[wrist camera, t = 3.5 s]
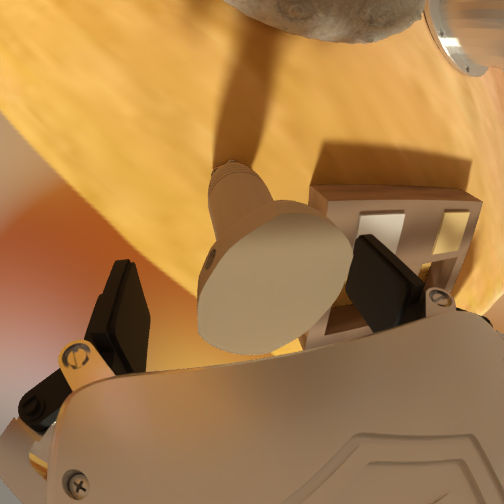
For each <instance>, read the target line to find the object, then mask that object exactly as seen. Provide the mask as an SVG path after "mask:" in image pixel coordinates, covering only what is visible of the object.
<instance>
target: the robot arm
mask: <svg viewBox="0 0 504 504" xmlns="http://www.w3.org/2000/svg"><path fill="white" fill-rule="evenodd" d="M424 12H425V16H426V20H427V23H428V26H429V29H430V32H431V34H432V36H433V38H434V40H435V42H436V44H437V46H438V47H439V49H440V51H441V52H442V54H443V55H444V57H445V58H446V59H447V61H448V62H449V63H450V64H451V65H452V66H453V67H454V68H455V69H456V70H457V71H459V72H460V73H462V74H464V75H467V76H471V77H480V76H482V75H484V74H485V73H486V71H487V70H488V68H489V67H493V68H499V69H504V0H426V3H425V7H424ZM424 287H425V283H424V282H423V281H422V280H421V279H420V278H419V277H418V276H417V275H416V274H415V273H414V272H413V271H412V270H411V269H410V268H409V267H408V266H407V265H406V264H405V263H403V262H402V261H401V260H400V259H399V258H398V257H397V256H396V255H395V254H394V253H393V252H392V251H391V250H389V249H388V248H387V247H386V246H385V245H384V244H383V243H382V242H380V241H379V240H378V239H377V238H376V237H375V236H374V235H372V234H364V235H359V236H358V238H357V239H356V240H355V243H354V248H353V259H352V262H351V265H350V268H349V273H348V278H347V282H346V287H345V290H346V294H347V296H348V297H349V298H350V300H351V301H352V303H353V304H354V306H355V307H356V308H357V310H358V311H359V313H360V314H361V316H362V317H363V318H364V320H365V321H366V323H367V324H368V326H369V327H370V329H371V330H372V332H373V334H369V335H366V336H362V337H358V338H354V339H351V340H347V341H343V342H339V343H335V344H330V345H326V346H322V347H318V348H313V349H308V350H304V351H299V352H294V353H289V354H284V355H279V356H273V357H267V358H262V359H256V360H249V361H243V362H236V363H230V364H222V365H214V366H206V367H196V368H187V369H176V370H165V371H153V372H146V360H147V348H148V338H149V329H150V313H149V310H148V307H147V303H146V300H145V297H144V293H143V290H142V287H141V283H140V280H139V276H138V273H137V269H136V265H135V263H134V262H130V260H129V259H126V260H117V261H115V263H114V265H113V268H112V270H111V273H110V275H109V278H108V280H107V283H106V286H105V288H104V291H103V294H100V295H99V297H98V299H97V302H96V304H95V307H94V310H93V313H92V316H91V319H90V322H89V325H88V328H87V331H86V334H85V337H84V340H76V341H73V342H70V343H69V344H67V345H66V346H65V347H64V348H63V349H62V350H61V352H60V354H59V357H58V363H59V367H60V368H59V369H58V370H57V371H55V372H54V373H52V374H51V375H50V376H49V377H47V378H46V379H44V380H43V381H42V382H40V383H39V384H38V385H36V386H35V387H34V388H33V389H31V390H30V391H28V392H27V393H26V394H25V395H24V396H23V397H22V399H21V400H20V402H19V406H18V413H19V417H18V419H15V418H13V419H12V421H11V422H10V423H9V425H8V426H7V428H6V429H5V430H4V432H3V433H2V435H1V436H0V478H1V479H2V480H3V482H4V483H5V484H6V485H7V487H8V488H9V489H10V490H11V491H12V492H13V494H14V495H15V496H16V497H17V498H18V499H19V500H20V501H21V502H22V503H23V504H504V335H503V334H502V333H500V332H498V331H496V330H495V329H494V328H493V326H492V324H491V323H490V321H489V320H488V319H487V318H486V317H484V316H480V315H478V314H475V313H472V312H468V311H465V310H462V309H459V308H456V305H455V300H454V298H453V297H452V295H451V294H450V293H448V292H447V291H445V290H443V289H441V288H436V287H433V288H429V289H428V290H427V291H426V293H425V292H424V291H423V289H424Z"/></svg>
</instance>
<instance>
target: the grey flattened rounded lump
mask: <svg viewBox="0 0 504 504" xmlns="http://www.w3.org/2000/svg"><path fill="white" fill-rule="evenodd" d="M223 1H224V2H226V3H227V4H229V5H231V6H232V7H234V8H236V9H237V10H239V11H240V12H242V13H243V14H245V15H247V16H248V17H251V18H253V19H255V20H258V21H260V22H262V23H265V24H267V25H269V26H272V27H275V28H278V29H280V30H282V31H285V32H287V33H290V34H294V35H300V36H303V37H306V38H309V39H318V40H321V41H328V42H335V43H338V42H342V43H348V44H356V43H363V44H366V43H372V42H377V41H379V40H382V39H385V38H387V37H389V36H391V35H395V34H398V33H401V32H402V31H404V30H406V29H407V28H409V27H410V26H411V25H412V24H413V23H414V22H415V21H417V20H421V18H422V17H421V13H422V12H423V11H424V7H425V3H426V0H223Z"/></svg>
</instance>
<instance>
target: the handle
mask: <svg viewBox="0 0 504 504" xmlns="http://www.w3.org/2000/svg"><path fill="white" fill-rule="evenodd" d="M208 208H209V212H210V216H211V220H212V224H213V228H214V232H215V236H216V242H215V243H214V245H213V246H212V247H211V249H210V251H209V253H208V255H207V258H206V260H205V262H204V265H203V267H202V270H201V272H200V275H199V280H198V290H197V310H198V311H197V314H198V334H199V335H200V336H201V337H202V338H203V339H204V340H205V341H206V342H208V343H209V344H210V345H212V346H214V347H216V348H218V349H221V350H224V351H227V352H230V353H235V354H241V355H259V354H266V353H271V352H272V351H274V350H276V349H278V348H280V347H282V346H284V345H286V344H288V343H289V342H291V341H293V340H295V339H296V338H298V337H300V336H301V335H302V334H304V333H305V332H307V331H308V330H309V329H310V328H311V327H312V326H313V325H314V324H315V323H316V322H317V321H318V320H319V319H320V318H321V317H322V316H323V315H324V313H325V312H326V311H327V310H328V309H329V308H330V307H331V305H332V304H333V303H334V301H335V300H336V299H337V297H338V296H339V294H340V292H341V290H342V288H343V285H344V283H345V280H346V277H347V274H348V271H349V268H350V265H351V262H352V259H353V252H352V248H351V245H350V243H349V241H348V239H347V238H346V236H345V235H344V234H343V233H342V232H341V230H340V229H339V228H338V227H337V226H336V225H335V224H334V223H333V222H332V221H331V220H330V219H328V218H327V217H326V216H325V215H323V214H322V213H321V212H319V211H318V210H316V209H314V208H312V207H310V206H308V205H306V204H303V203H299V202H296V201H289V200H277V201H274V200H273V198H272V196H271V194H270V192H269V190H268V188H267V186H266V185H265V183H264V182H263V181H262V179H261V178H260V177H259V175H258V174H257V173H255V172H254V171H253V170H252V169H251V168H249V167H247V166H246V165H243V164H240V163H237V161H236V160H228V162H227V163H225V164H224V165H222V166H219V167H215V168H214V170H213V171H212V174H211V180H210V183H209V189H208Z"/></svg>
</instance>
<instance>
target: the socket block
mask: <svg viewBox="0 0 504 504" xmlns="http://www.w3.org/2000/svg"><path fill="white" fill-rule="evenodd" d="M482 203H483V202H482V201H481V200H479V199H477V198H476V197H474V196H472V195H470V194H469V193H467V192H465V191H463V190H462V189H451V188H437V187H421V186H398V185H310V191H309V204H308V206H310V207H312V208H314V209H316V210H318V211H319V212H321V213H322V214H323V215H325V216H326V217H327V218H328V219H330V220H331V221H332V222H333V223H334V224H335V225H336V226H337V227H338V228H339V229H340V230H341V232H342V233H343V234H344V235H345V236H346V238H347V239H348V241H349V243H350V245H351V248H352V252H353V248H354V243H355V240H356V239H357V238H358V236H359V235H364V234H372V235H374V236H375V237H376V238H377V239H378V240H379V241H380V242H382V243H383V244H384V245H385V246H386V247H387V248H388V249H389V250H391V251H392V252H393V253H394V254H395V255H396V256H397V257H398V258H399V259H400V260H401V261H402V262H403V263H405V264H406V265H407V266H408V267H409V268H410V269H411V270H412V271H413V272H414V273H415V274H416V275H417V276H418V274H419V272H420V269H421V266H422V264H424V263H429V262H432V264H431V267H430V270H429V272H428V275H427V278H426V280H425V287H424V289H423V291H424V292H425V293H426V291H427V290H428V289H429V288H433V287H436V288H441V289H443V290H445V291H447V292H448V293H451V291H452V288H453V286H454V284H455V282H456V279H457V277H458V274H459V272H460V270H461V267H462V265H463V262H464V259H465V257H466V254H467V251H468V249H469V246H470V243H471V240H472V237H473V234H474V231H475V228H476V224H477V221H478V218H479V214H480V211H481V207H482ZM348 273H349V271H348ZM347 276H348V274H347ZM331 306H332V305H331ZM369 334H373V332H372V330H371V329H370V327H369V326H368V324H367V323H366V321H365V320H364V318H363V317H362V316H361V314H360V313H359V311H358V310H357V308H356V307H355V306H354V304H352V305H347V306H342V307H337V308H331V307H330V308H329V309H328V310H327V311H326V312H325V313H324V315H323V316H322V317H321V318H320V319H319V320H318V321H317V322H316V323H315V324H314V325H313V326H312V327H311V328H310V329H309V330H308V331H307V332H305V333H304V334H302V335H301V336H300V337H298V338H299V341H300V344H301V346H302V349H303V351H304V350H308V349H313V348H318V347H322V346H326V345H330V344H335V343H339V342H343V341H347V340H351V339H354V338H358V337H362V336H366V335H369Z"/></svg>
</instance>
